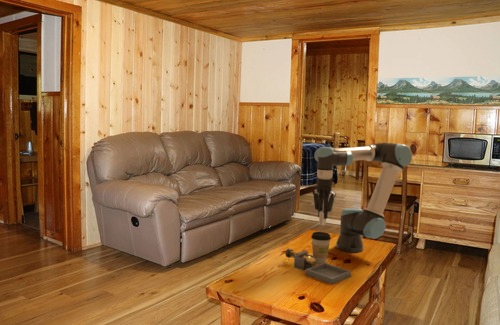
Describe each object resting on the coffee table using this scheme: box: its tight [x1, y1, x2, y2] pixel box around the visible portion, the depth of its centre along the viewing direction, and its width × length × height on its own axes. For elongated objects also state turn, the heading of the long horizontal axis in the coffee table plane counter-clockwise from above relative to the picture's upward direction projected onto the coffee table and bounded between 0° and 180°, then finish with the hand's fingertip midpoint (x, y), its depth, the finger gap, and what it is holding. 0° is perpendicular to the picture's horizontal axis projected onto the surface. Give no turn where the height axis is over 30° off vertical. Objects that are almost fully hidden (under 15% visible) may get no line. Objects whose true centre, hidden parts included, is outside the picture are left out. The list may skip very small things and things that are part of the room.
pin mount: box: [293, 249, 314, 272], centre depth 200 cm, size 7×6×7 cm
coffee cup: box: [311, 231, 332, 265], centre depth 207 cm, size 10×10×15 cm
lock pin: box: [284, 248, 316, 266], centre depth 201 cm, size 4×16×4 cm, turn 44°
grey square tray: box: [304, 262, 352, 285], centre depth 191 cm, size 15×15×2 cm
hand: (322, 224), depth 205 cm, fingers closed
